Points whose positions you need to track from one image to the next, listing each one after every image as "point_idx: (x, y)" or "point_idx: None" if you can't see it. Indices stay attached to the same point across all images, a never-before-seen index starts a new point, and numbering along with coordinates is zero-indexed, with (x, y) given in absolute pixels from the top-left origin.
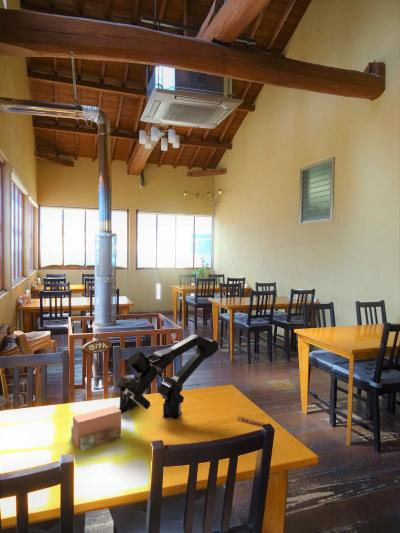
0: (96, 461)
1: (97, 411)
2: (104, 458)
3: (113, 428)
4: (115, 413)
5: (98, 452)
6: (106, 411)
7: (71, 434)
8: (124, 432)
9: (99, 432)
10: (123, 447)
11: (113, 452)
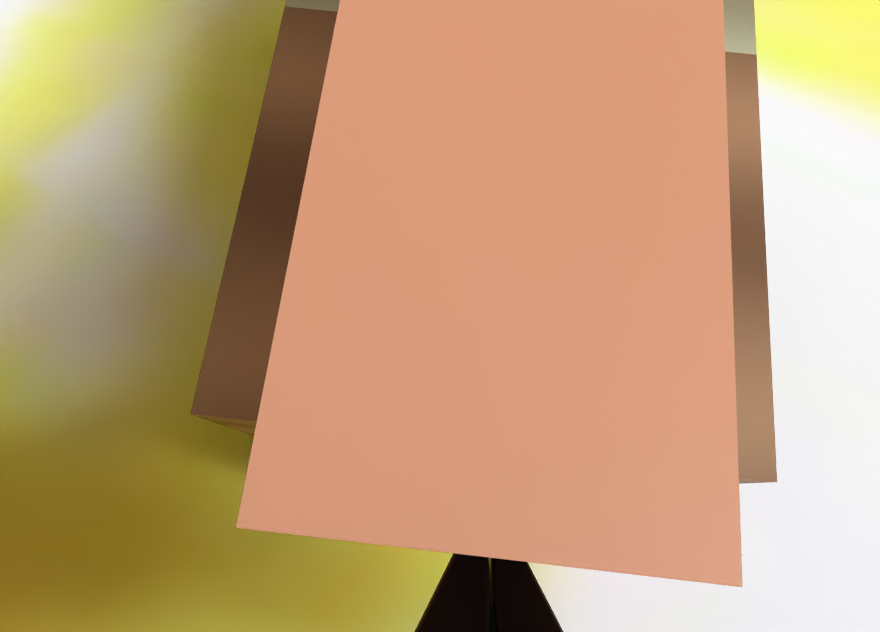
0: (63, 24)
1: (660, 24)
2: (42, 97)
3: None
4: (285, 338)
5: (190, 105)
6: (514, 178)
7: None
8: (371, 590)
9: None
10: (49, 358)
11: (59, 216)
